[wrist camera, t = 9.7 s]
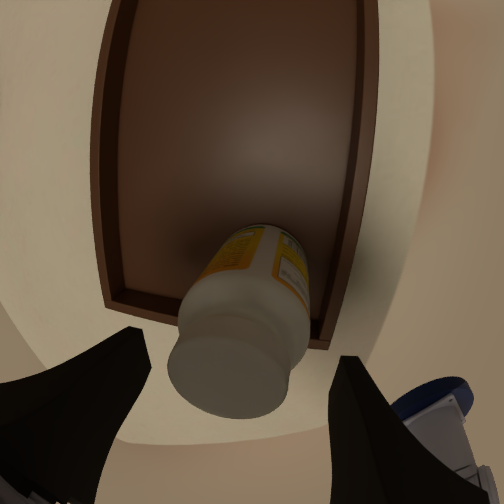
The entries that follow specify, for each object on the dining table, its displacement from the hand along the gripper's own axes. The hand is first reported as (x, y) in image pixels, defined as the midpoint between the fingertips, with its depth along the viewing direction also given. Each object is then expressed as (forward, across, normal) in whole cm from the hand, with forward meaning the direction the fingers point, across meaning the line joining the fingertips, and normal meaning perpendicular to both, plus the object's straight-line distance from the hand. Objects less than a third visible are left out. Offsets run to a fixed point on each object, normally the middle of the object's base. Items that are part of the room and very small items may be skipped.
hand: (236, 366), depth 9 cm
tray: (+9, +2, -11) cm, 14 cm away
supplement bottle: (+9, 0, 0) cm, 9 cm away
